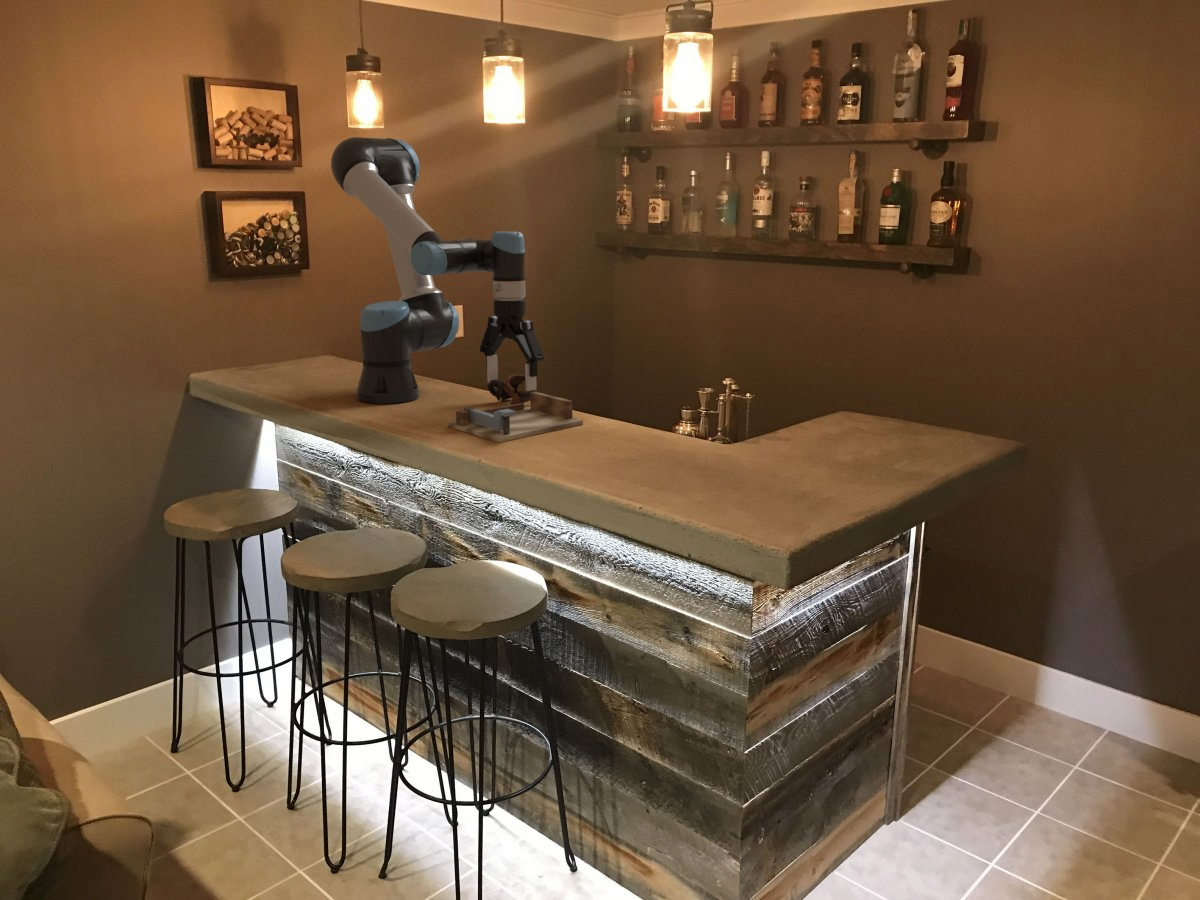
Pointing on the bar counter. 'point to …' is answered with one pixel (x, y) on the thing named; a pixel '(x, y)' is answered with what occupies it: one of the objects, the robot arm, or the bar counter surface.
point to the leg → (489, 417)
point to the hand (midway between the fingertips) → (511, 387)
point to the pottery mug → (510, 389)
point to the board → (523, 419)
